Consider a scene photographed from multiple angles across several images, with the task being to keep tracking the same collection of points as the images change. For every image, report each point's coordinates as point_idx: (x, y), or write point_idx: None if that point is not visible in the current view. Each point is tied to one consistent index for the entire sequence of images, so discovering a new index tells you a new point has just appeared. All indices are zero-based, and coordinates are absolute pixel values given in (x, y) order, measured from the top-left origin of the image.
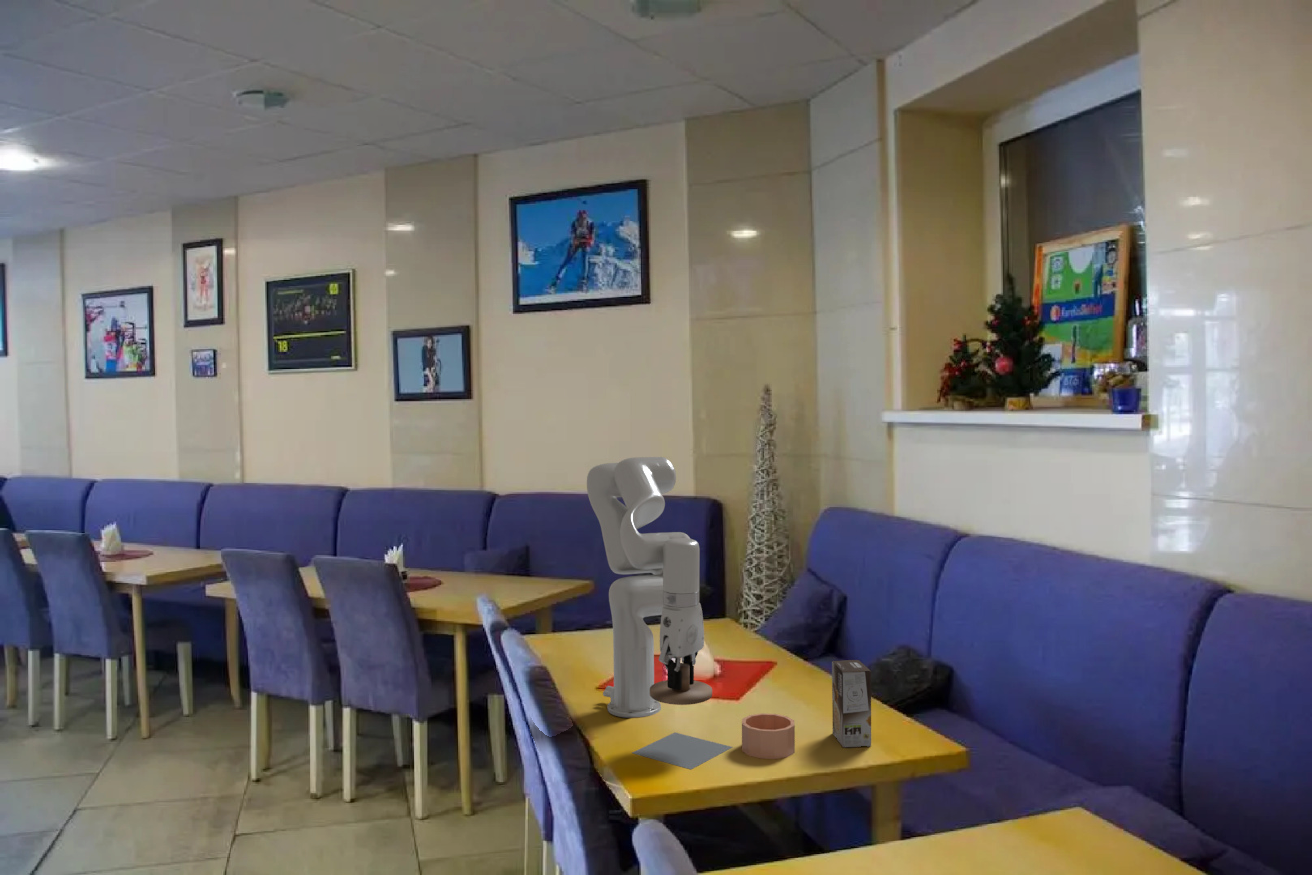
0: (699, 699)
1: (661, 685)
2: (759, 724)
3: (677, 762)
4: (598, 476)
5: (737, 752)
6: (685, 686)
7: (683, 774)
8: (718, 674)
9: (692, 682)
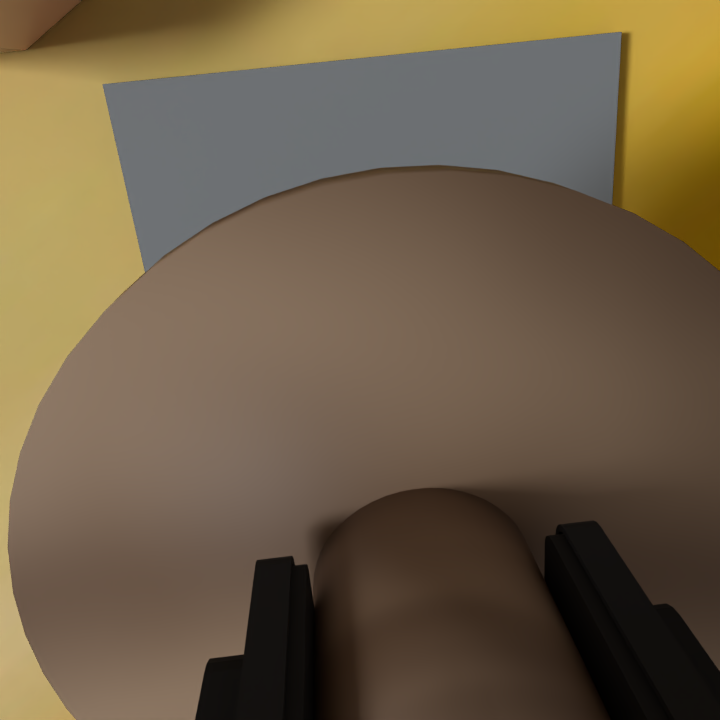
0: (544, 182)
1: None
2: None
3: (572, 186)
4: None
5: (129, 9)
6: (478, 533)
7: (685, 37)
8: None
9: (287, 569)
